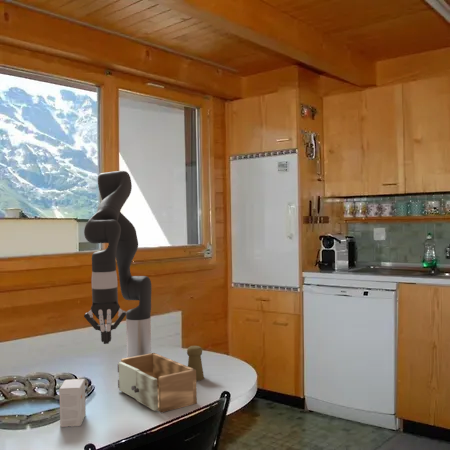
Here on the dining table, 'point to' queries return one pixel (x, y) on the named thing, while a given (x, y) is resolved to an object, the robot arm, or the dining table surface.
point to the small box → (72, 402)
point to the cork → (195, 361)
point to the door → (127, 379)
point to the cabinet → (163, 382)
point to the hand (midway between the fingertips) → (106, 343)
